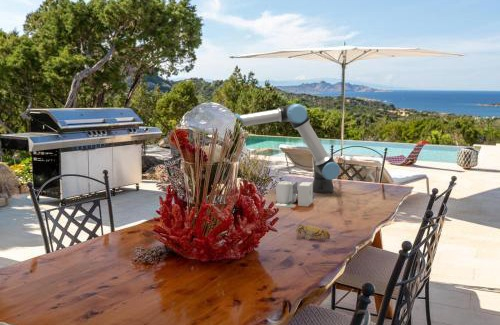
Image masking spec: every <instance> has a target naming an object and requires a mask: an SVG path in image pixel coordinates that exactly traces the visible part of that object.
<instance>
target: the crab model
mask: <svg viewBox="0 0 500 325" xmlns="http://www.w3.org/2000/svg"><path fill="white" fill-rule="evenodd" d="M295 232H296V234H297V235H298V236H300V237H304V238H305V240H306V241H309V240H311V239H312V240H320V239H321V238H322V237H323V236H324V239H323V242H326V240H327V239H328V240H329V239H331V238H330V237H331V234H330V231H329V230H328V229H321V228H320V227H317V226H313V225H303V224H299V225H298V226H297V227H296V228H295ZM302 233H304V234H305V235H302Z"/></svg>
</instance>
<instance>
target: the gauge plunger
mask: <svg viewBox="0 0 500 325" xmlns="http://www.w3.org/2000/svg"><path fill="white" fill-rule="evenodd" d="M296 194H297V195H298V181H293V182H292V183H291V184H290V185H289V203H288V205H289V204H296V202H297V201H296Z"/></svg>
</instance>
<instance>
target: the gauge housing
mask: <svg viewBox="0 0 500 325" xmlns="http://www.w3.org/2000/svg"><path fill="white" fill-rule="evenodd" d="M297 190H298V193H297V205H296V203H293V204H289V205H288V204H280V203H277V202H276V204H275V205H274V206H275V207H276V208H288V209H294V208H295V207H297V206H299V207H309V206H310V205H311V204H312V203H313V193H314V192H313V181H311V182H310V181H302V182H300V184H297ZM275 207H274V208H275Z"/></svg>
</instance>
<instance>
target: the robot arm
mask: <svg viewBox="0 0 500 325" xmlns="http://www.w3.org/2000/svg"><path fill="white" fill-rule="evenodd" d="M234 115H235V116H236V117H237V118H238V119H239V120H241V121H242V123H243V125H244V126H243V127H248V126H255V125H261V124H268V123H275V122H279V123H283V122H289V123H290V125H291V127H292V128H293V129H294V130H297V131H298V133H299V135H300V137H301V138H302V140H303V141H304V143H305V145H306V146H307V149H308V150H309V151H310V153H311V155H312V157H313V158H314V160H313V165H314V166H313V181H312V182H313V193H318V194H319V193H320V194H329V193H334V192H335V187H334V185H333V180H336V179H337V178H338V177H339V175H340V173H341V168H340V165H339V164H338V163H337V162H336V161H335V159H334V158H333V157H332V155H331V154H328V153H327V151H326V150H325V147H324V145H323V144H322V142H321V140H320V139H319V137H318V135H317V133H316V132H315V131H314V129H313V127H312V125H311V123H310V121H311V118H310V117H309V115H308V110H307V109H306V107H305V106H303V105H302V104H300V103H290V104H287V105H284V106H278V107H277V108H275V109H269V110H264V111H257V112H252V113H245V114H239V113H235V114H234Z"/></svg>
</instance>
